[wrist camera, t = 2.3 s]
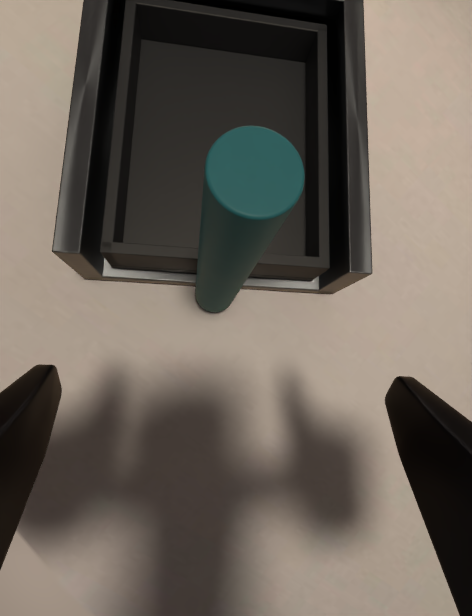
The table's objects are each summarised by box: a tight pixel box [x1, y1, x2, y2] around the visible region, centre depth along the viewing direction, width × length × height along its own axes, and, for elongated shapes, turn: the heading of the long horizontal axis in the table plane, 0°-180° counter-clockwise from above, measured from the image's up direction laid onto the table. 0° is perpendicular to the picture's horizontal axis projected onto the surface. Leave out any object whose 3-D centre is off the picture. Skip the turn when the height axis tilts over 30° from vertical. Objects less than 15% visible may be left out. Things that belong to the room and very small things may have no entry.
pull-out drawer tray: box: [52, 0, 372, 294], centre depth 20 cm, size 17×15×5 cm
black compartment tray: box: [100, 0, 330, 312], centre depth 15 cm, size 17×12×13 cm
